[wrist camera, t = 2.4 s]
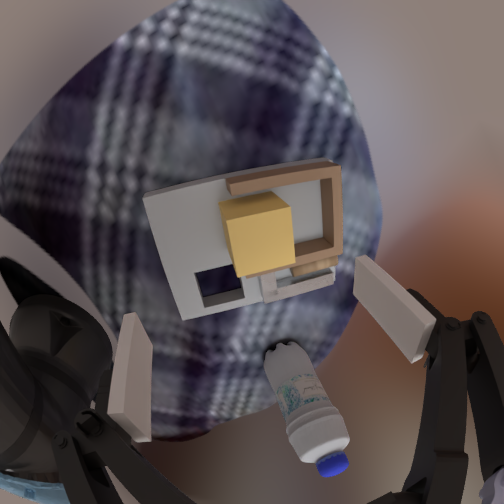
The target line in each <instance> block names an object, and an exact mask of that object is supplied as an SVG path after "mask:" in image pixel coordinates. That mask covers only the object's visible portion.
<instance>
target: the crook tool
mask: <svg viewBox="0 0 504 504" xmlns="http://www.w3.org/2000/svg"><path fill="white" fill-rule="evenodd" d="M258 280H259V286H260V292H261V297H262V299H263V301H264V303H265V304H266V303H269V302H273V301H277V300H280V299H284V298H288V297H291V296H295V295H298V294H302V293H305V292H308V291H312V290H315V289H319V288H322V287H325V286H328V285H332V284H333V282H334V273H333V271H332V270H331V269H330V268H325V269H322V270H318V271H314V272H311V273H307V274H304V275H300V276H296V277H293V276H290V277H286V278H283V279H279V280H276V275H275V272H272V273H268V274H264V275H260V276H258Z"/></svg>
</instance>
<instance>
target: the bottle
mask: <svg viewBox="0 0 504 504" xmlns="http://www.w3.org/2000/svg"><path fill="white" fill-rule="evenodd" d="M264 370H265V373H266V375H267V378H268V380H269V382H270V384H271V386H272V388H273V390H274V393H275V395H276V398H277V401H278V403H279V406H280V409H281V411H282V414H283V417H284V419H285V422H286V424H287V428H286V432H287V434H288V436H289V442H290V443H291V444H292V446H293V448H294V449H295V451H296V453H297V455H298V456H299V458H300V460H301V461H303V462H311V463H316V466H317V469H318V471H319V473H320V475H321V476H323V477H331V476H335V475H337V474H339V473H341V472H343V471H344V470H345V469H346V468H347V467H348V465H349V462H348V459H347V457H346V455H345V453H344V452H342V450H343V449H344V448H345V447H346V445H347V444H348V443H349V441H350V438H349V435H348V432H347V429H346V427H345V423H344V420H343V417H342V416H341V415H340V414H339V411H338V409H337V408H335V407H334V406H332V404H331V402H330V401H329V398H328V396H327V394H326V392H325V390H324V389H323V387H322V385H321V383H320V381H319V379H318V377H317V376H316V374H315V371H314V368H313V366H312V364H311V361H310V359H309V357H308V355H307V353H306V352H305V351H304V350H303V349H302V348H301V347H300V346H299V345H298V344H297V343H295V342H289V343H288V346H286V345H284V344H282V343H278V344H277V345H276V350H274V351H273V350H268V351H267V352H266V355H265V360H264Z"/></svg>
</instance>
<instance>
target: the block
mask: <svg viewBox="0 0 504 504" xmlns="http://www.w3.org/2000/svg"><path fill="white" fill-rule="evenodd" d="M218 204H219V209H220V214H221V219H222V224H223V229H224V234H225V239H226V244H227V249H228V252H229V255H230V258H231V261H232V263H233V266H234V269H235V272H236V274H237V277H242V276H246V275H250V274H254V273H258V272H262V271H266V270H270V269H274V268H278V267H281V266H285V265H289V264H293V263H296V262H295V249H294V237H293V226H292V215H291V207H290V206H289V205H288V204H287V203H286V202H284V201H283V200H282V199H281V198H280V197H278V196H277V195H276V194H275V193H273V192H272V191H268V192H263V193H258V194H253V195H248V196H244V197H239V198H234V199H230V200H225V201H221V202H218Z"/></svg>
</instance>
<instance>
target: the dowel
mask: <svg viewBox="0 0 504 504" xmlns="http://www.w3.org/2000/svg"><path fill="white" fill-rule="evenodd" d="M336 265H338V257H337V255H336V256H332V257H329V258H325V259H321V260H318V261H314V262H310V263H306V264H303V265H299V266H295V267H291V268H290V271H291V274H292V276H293V277H296V276H300V275H304V274H307V273H311V272H314V271H318V270H322V269H325V268H329V267H332V266H336Z"/></svg>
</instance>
